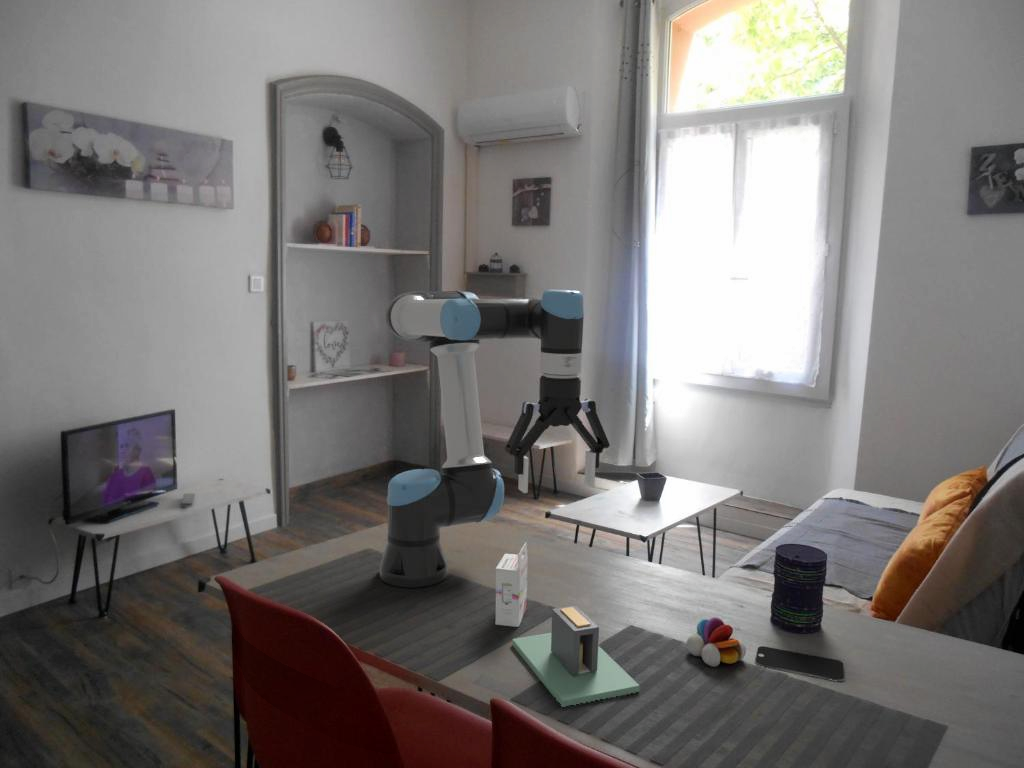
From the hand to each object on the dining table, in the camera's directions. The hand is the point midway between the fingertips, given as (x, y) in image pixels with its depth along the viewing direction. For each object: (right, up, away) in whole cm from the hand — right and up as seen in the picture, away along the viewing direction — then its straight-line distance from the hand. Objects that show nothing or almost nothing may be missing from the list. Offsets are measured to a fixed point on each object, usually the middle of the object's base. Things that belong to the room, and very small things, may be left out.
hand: (556, 488), depth 146 cm
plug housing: (+2, -29, -9) cm, 30 cm away
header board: (+2, -30, -8) cm, 32 cm away
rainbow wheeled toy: (+29, -31, -3) cm, 42 cm away
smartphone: (+43, -31, -5) cm, 54 cm away
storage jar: (+48, -29, +11) cm, 57 cm away
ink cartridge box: (-9, -27, +11) cm, 31 cm away
